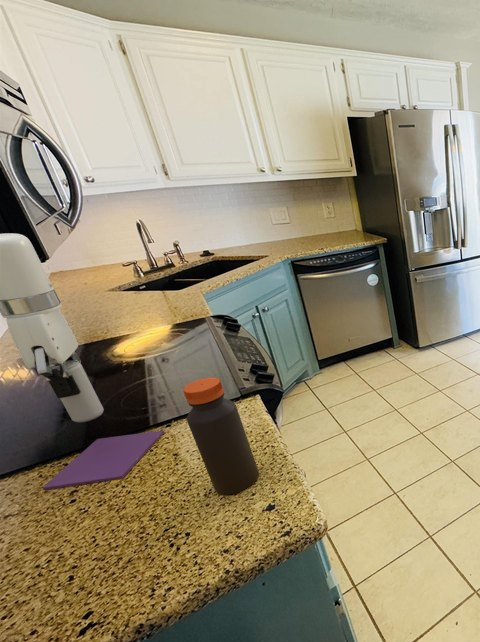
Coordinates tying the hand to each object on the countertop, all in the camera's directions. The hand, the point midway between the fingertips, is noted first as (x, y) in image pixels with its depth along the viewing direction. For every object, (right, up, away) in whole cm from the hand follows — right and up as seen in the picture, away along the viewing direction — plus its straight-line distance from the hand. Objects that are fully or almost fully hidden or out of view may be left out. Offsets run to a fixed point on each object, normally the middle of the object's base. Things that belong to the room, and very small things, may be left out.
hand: (74, 388), depth 81 cm
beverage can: (0, -6, +3) cm, 7 cm away
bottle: (+39, -16, -9) cm, 43 cm away
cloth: (+10, -13, -2) cm, 17 cm away
